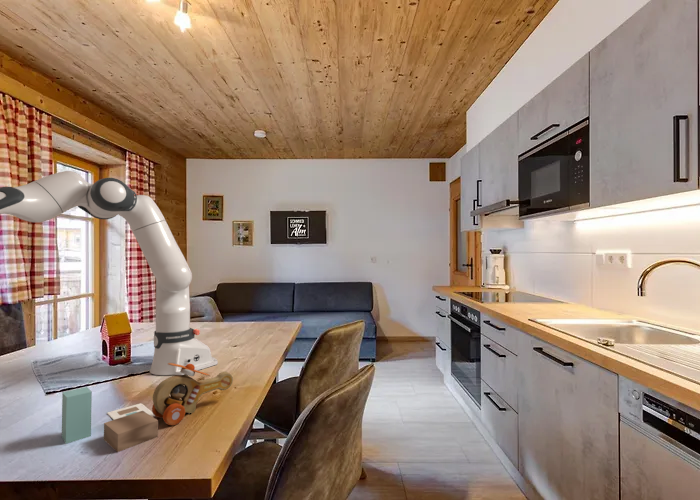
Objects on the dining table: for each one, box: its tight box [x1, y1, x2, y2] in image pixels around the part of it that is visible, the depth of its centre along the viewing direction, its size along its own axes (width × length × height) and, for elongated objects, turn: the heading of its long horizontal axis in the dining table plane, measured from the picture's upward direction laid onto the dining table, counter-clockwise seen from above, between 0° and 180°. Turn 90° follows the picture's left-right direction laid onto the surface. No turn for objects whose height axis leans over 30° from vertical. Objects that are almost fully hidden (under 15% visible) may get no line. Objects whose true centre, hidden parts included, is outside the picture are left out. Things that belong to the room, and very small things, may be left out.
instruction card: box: [106, 402, 156, 420], centre depth 91 cm, size 8×11×1 cm
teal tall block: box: [61, 386, 93, 445], centre depth 80 cm, size 4×4×10 cm
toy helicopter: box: [151, 363, 234, 426], centre depth 93 cm, size 8×21×14 cm, turn 140°
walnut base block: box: [103, 411, 159, 453], centre depth 79 cm, size 8×8×4 cm
